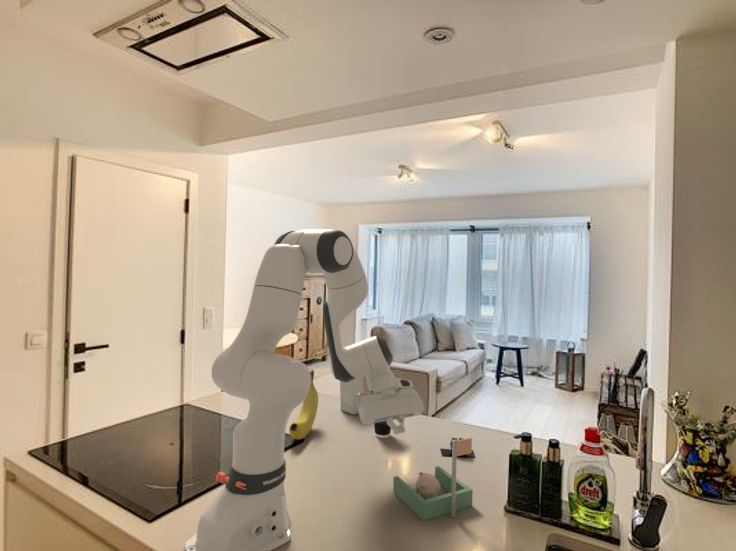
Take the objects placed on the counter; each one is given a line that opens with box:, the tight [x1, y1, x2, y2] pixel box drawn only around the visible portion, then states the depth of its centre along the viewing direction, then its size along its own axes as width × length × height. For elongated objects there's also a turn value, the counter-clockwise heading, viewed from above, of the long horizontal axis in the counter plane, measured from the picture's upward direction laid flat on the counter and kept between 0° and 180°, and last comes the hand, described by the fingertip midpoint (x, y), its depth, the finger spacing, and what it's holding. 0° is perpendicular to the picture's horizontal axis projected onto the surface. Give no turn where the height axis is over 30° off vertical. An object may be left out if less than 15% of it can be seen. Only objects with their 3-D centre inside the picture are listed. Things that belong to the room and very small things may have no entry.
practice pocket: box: [392, 437, 474, 521], centre depth 107 cm, size 16×14×18 cm
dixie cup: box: [373, 421, 392, 439], centre depth 149 cm, size 8×8×11 cm
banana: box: [288, 369, 319, 440], centre depth 148 cm, size 23×6×20 cm, turn 171°
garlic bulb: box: [415, 471, 442, 500], centre depth 108 cm, size 7×6×8 cm
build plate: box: [440, 437, 476, 459], centre depth 135 cm, size 13×8×5 cm, turn 85°
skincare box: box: [339, 375, 364, 416], centre depth 173 cm, size 8×6×15 cm
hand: (400, 432), depth 122 cm, fingers closed
